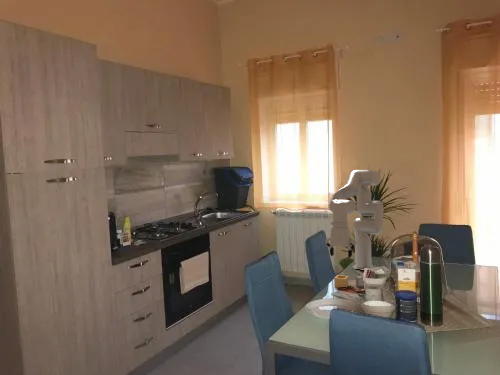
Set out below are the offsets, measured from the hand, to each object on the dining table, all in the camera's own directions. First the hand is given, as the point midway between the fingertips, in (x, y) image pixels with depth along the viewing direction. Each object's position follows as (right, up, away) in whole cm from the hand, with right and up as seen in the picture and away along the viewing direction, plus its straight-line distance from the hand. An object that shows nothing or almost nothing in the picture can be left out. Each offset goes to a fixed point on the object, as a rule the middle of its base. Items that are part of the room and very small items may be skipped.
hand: (340, 256), depth 215 cm
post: (+9, -15, -5) cm, 18 cm away
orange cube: (+1, -16, +1) cm, 16 cm away
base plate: (+9, -16, -5) cm, 19 cm away
